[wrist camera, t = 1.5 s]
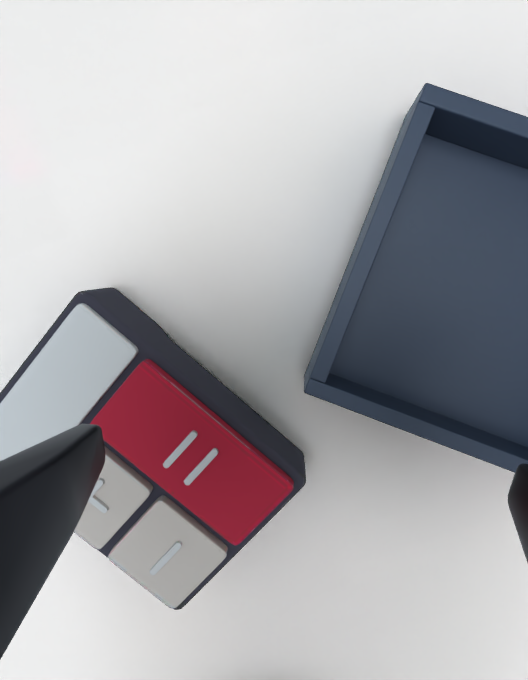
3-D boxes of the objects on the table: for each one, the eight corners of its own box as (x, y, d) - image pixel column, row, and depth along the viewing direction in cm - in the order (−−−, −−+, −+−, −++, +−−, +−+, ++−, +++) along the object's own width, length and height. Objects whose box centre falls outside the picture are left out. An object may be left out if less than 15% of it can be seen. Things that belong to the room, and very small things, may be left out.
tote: (552, 470, 23) (596, 503, 19) (304, 376, 23) (303, 392, 20) (688, 211, 20) (766, 197, 17) (406, 114, 21) (426, 81, 18)
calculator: (173, 626, 22) (-52, 449, 21) (191, 569, 27) (5, 418, 25) (310, 489, 20) (72, 287, 19) (307, 450, 25) (111, 283, 24)
